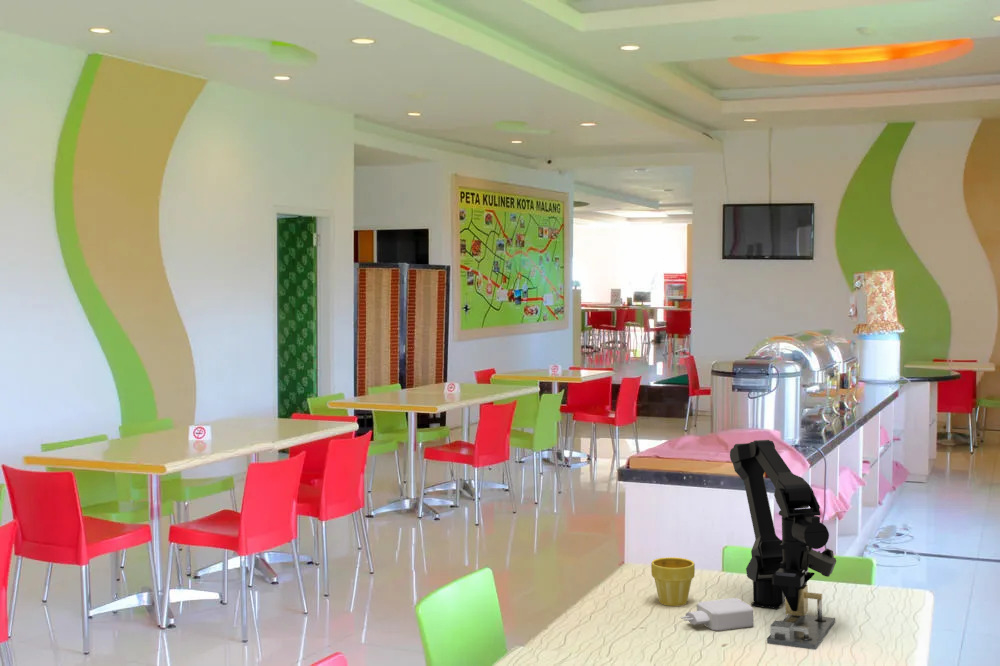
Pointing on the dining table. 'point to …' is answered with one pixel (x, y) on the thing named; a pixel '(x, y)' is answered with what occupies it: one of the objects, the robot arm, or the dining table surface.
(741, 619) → the charger
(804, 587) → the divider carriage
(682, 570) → the plant pot
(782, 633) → the dividers base
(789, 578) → the robot arm
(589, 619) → the dining table surface
